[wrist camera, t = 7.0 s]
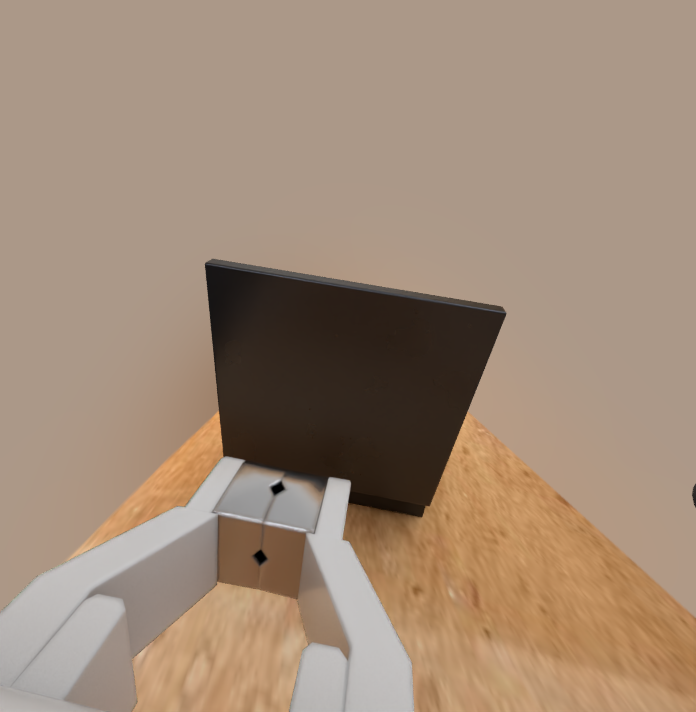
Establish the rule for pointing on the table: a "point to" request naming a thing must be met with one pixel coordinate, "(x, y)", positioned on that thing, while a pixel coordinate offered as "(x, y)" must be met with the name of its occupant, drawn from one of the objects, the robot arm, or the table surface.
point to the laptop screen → (344, 375)
